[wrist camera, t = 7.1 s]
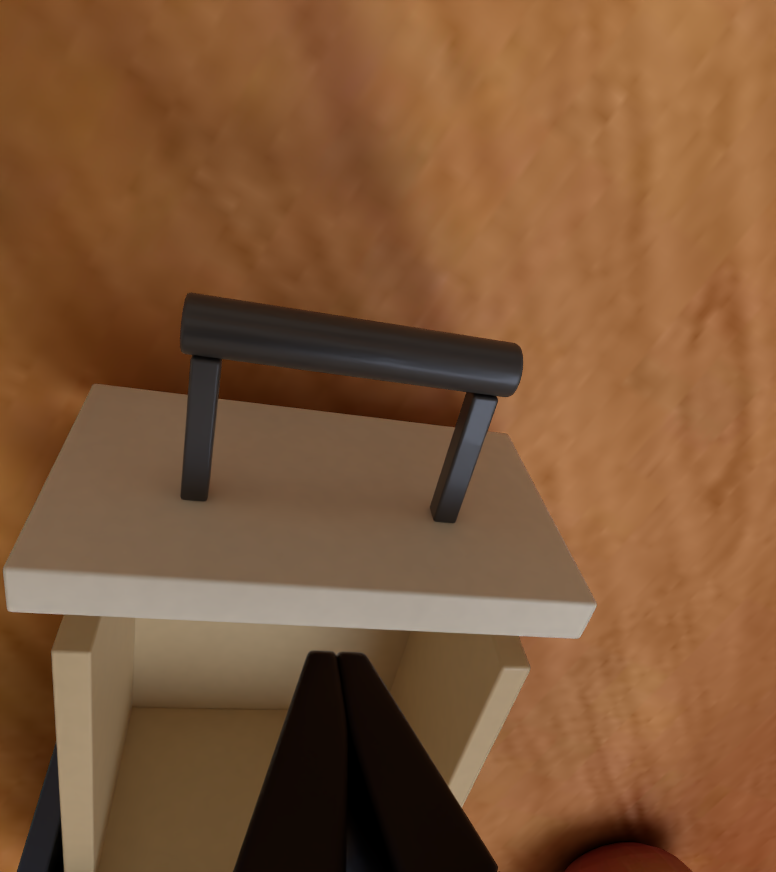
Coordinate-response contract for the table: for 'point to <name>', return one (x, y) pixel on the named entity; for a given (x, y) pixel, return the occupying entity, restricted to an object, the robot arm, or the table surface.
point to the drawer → (277, 575)
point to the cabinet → (45, 828)
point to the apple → (627, 859)
